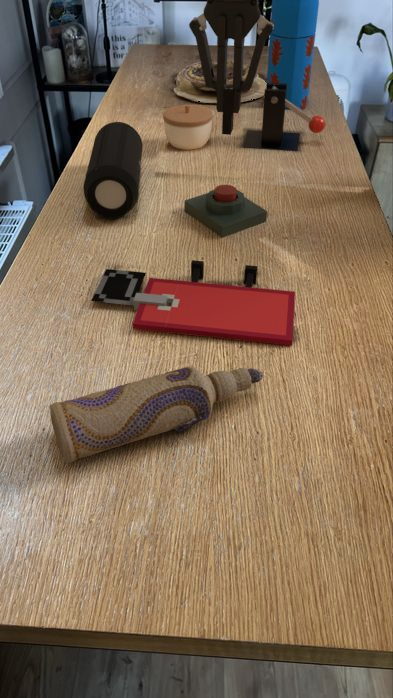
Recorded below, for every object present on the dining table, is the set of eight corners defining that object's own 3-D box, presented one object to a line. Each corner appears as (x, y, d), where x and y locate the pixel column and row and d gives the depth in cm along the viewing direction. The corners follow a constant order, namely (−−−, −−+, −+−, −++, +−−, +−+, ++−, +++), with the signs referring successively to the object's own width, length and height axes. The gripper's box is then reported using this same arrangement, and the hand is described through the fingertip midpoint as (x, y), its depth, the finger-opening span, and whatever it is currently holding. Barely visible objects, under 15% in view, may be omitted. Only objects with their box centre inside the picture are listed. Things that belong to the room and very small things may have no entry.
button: (240, 199, 106) (241, 190, 105) (222, 205, 104) (223, 196, 103) (227, 191, 109) (227, 182, 107) (209, 197, 107) (209, 188, 106)
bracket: (299, 139, 136) (305, 80, 127) (296, 156, 129) (303, 96, 120) (247, 135, 138) (250, 78, 129) (242, 153, 130) (245, 93, 122)
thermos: (256, 105, 153) (263, -6, 136) (283, 95, 158) (293, -12, 142) (288, 115, 147) (299, 1, 130) (315, 105, 152) (329, -6, 136)
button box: (266, 221, 107) (268, 201, 105) (222, 238, 103) (222, 217, 100) (227, 196, 115) (227, 177, 112) (184, 211, 110) (183, 191, 108)
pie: (233, 67, 177) (234, 49, 174) (290, 92, 160) (292, 73, 157) (151, 83, 166) (150, 65, 163) (203, 112, 149) (203, 92, 146)
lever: (318, 132, 131) (328, 119, 129) (318, 138, 128) (328, 125, 126) (266, 96, 128) (275, 81, 126) (264, 102, 125) (274, 87, 123)
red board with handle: (109, 267, 96) (82, 325, 85) (108, 252, 94) (79, 310, 83) (294, 284, 92) (291, 348, 81) (297, 269, 90) (293, 332, 80)
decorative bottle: (67, 479, 65) (57, 439, 60) (53, 431, 70) (43, 391, 66) (275, 413, 72) (280, 373, 68) (248, 373, 77) (251, 334, 73)
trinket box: (167, 159, 128) (165, 115, 122) (162, 140, 136) (160, 98, 130) (216, 155, 129) (216, 112, 123) (207, 137, 137) (207, 95, 131)
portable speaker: (140, 223, 107) (135, 170, 101) (85, 224, 107) (77, 172, 100) (144, 163, 126) (141, 116, 120) (98, 164, 126) (92, 117, 120)
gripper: (183, -31, 82) (185, 136, 97) (277, -28, 80) (263, 143, 96) (194, -40, 87) (194, 120, 103) (282, -37, 85) (268, 126, 101)
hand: (227, 131), depth 99 cm, fingers closed
